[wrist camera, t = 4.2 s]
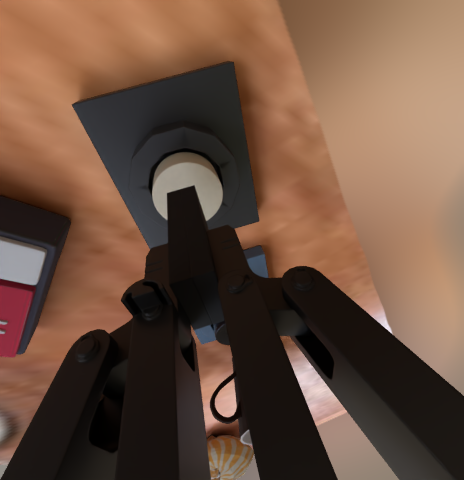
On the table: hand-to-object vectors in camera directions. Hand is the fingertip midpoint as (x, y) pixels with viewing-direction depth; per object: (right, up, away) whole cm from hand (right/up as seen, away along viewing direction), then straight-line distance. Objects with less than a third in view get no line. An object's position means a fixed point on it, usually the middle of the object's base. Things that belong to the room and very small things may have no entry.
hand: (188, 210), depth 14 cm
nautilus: (-3, -49, +45) cm, 66 cm away
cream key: (-1, +2, +4) cm, 4 cm away
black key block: (-1, +4, +6) cm, 7 cm away
